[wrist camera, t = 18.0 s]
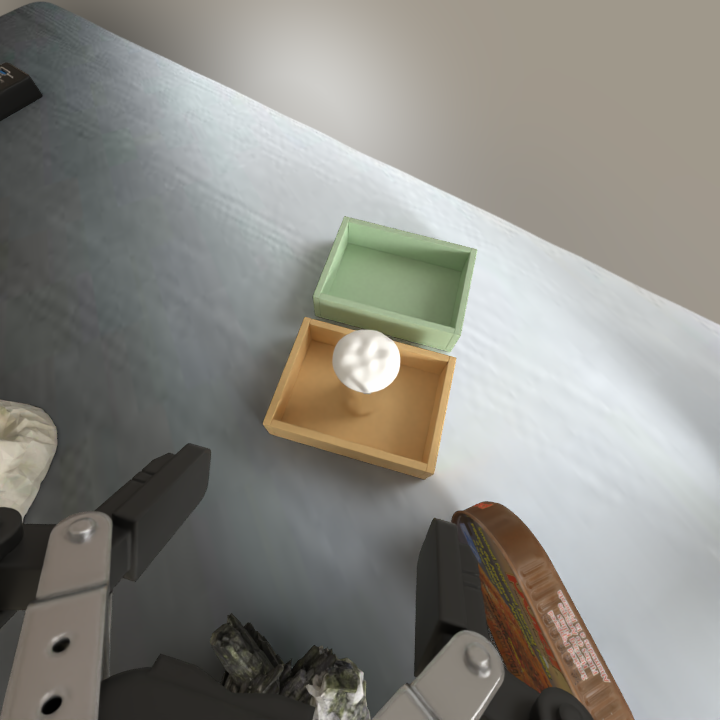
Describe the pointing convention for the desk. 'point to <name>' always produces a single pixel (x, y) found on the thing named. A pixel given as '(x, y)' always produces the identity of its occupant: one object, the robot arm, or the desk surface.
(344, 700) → the mineral specimen
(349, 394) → the milkshake
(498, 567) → the tin
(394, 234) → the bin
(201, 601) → the desk surface
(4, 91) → the multiport hub
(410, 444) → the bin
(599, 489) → the desk surface
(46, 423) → the ceramic cottage
